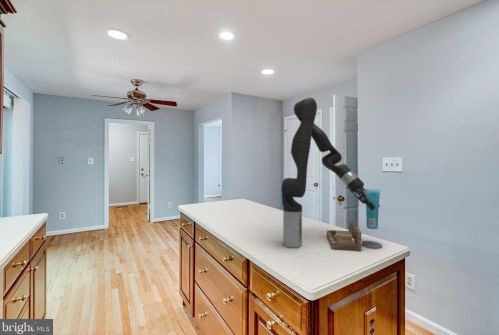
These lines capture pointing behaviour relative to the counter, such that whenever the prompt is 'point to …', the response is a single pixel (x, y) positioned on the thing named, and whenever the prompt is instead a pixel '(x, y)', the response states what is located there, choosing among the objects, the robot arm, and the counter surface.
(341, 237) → the offcut stack
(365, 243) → the coaster
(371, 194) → the tube
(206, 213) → the counter surface
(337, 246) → the rack
